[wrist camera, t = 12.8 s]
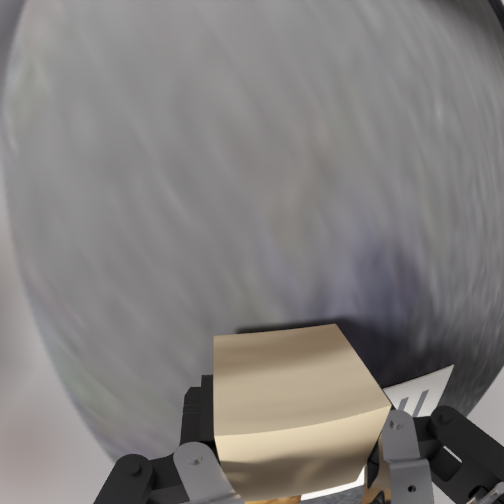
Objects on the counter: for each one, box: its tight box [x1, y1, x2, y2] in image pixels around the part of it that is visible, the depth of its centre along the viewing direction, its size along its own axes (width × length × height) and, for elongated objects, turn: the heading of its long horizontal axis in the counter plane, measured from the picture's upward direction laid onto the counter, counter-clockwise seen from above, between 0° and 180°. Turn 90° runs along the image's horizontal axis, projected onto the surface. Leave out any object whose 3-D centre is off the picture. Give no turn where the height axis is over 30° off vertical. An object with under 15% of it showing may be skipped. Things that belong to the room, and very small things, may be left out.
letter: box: [301, 365, 454, 500], centre depth 16 cm, size 14×10×1 cm
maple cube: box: [213, 324, 392, 502], centre depth 10 cm, size 5×5×5 cm
